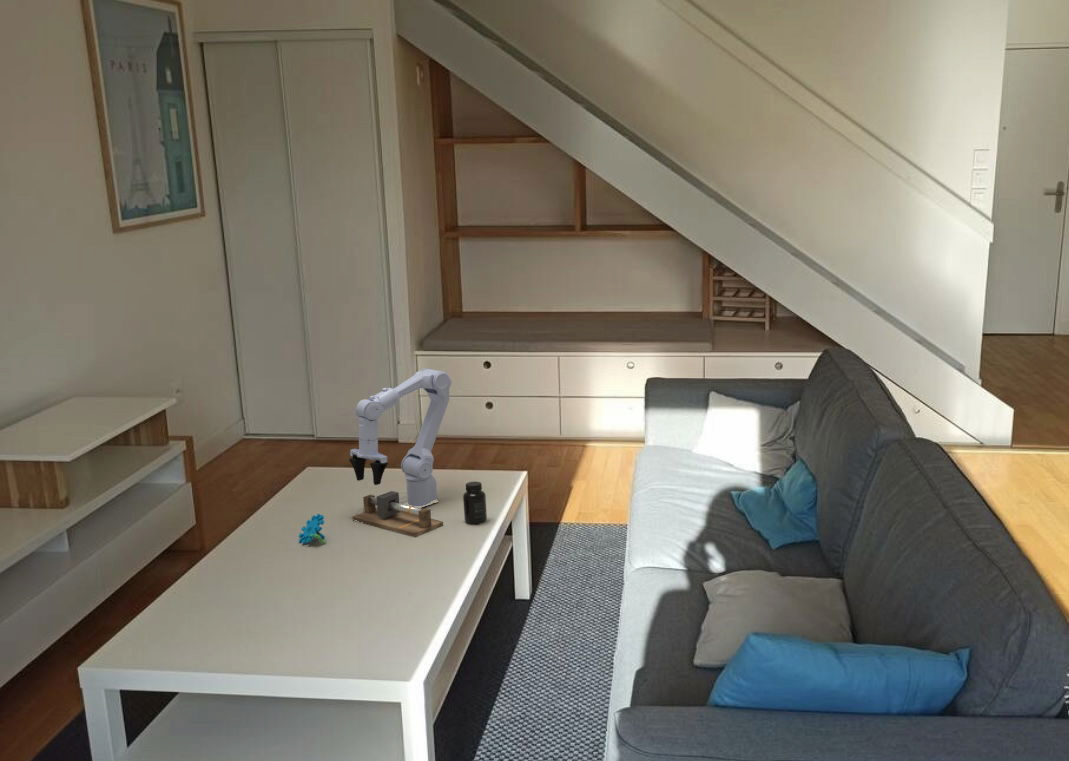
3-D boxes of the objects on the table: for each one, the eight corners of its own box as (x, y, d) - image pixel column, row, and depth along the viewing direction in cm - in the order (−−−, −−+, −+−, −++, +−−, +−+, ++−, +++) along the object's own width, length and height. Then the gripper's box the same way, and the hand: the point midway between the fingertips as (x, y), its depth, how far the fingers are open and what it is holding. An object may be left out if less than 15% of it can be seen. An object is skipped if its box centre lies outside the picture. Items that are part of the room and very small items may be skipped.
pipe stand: (381, 509, 318) (379, 490, 317) (443, 525, 302) (442, 504, 301) (352, 520, 309) (351, 500, 308) (415, 537, 293) (413, 516, 292)
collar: (393, 510, 311) (391, 490, 309) (399, 512, 309) (398, 492, 308) (377, 516, 306) (376, 496, 305) (384, 518, 304) (383, 498, 303)
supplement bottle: (488, 517, 307) (486, 480, 305) (485, 525, 301) (483, 487, 298) (466, 517, 308) (464, 480, 306) (462, 525, 302) (460, 487, 299)
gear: (294, 532, 296) (317, 507, 296) (309, 542, 299) (331, 517, 299) (301, 549, 286) (324, 523, 286) (316, 559, 289) (339, 533, 289)
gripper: (342, 437, 307) (342, 480, 309) (375, 444, 299) (375, 488, 301) (359, 433, 313) (360, 476, 315) (392, 440, 304) (392, 484, 306)
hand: (368, 482), depth 308 cm, fingers open, 7 cm apart
